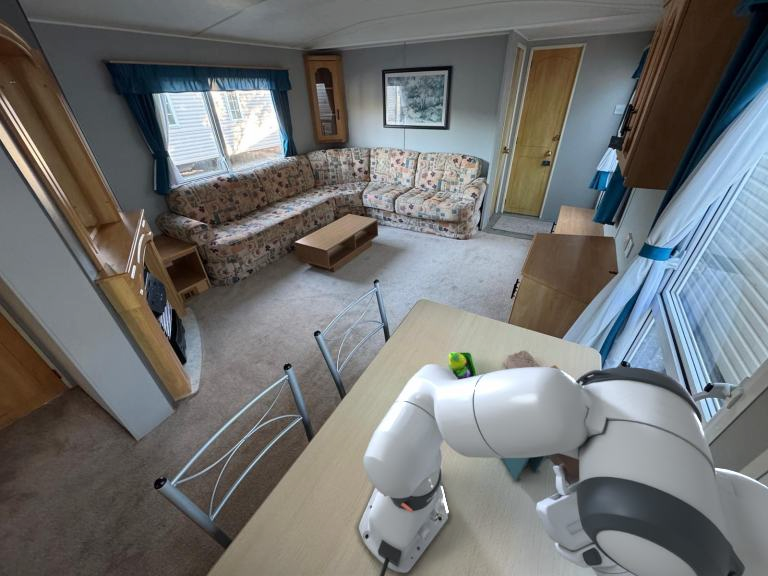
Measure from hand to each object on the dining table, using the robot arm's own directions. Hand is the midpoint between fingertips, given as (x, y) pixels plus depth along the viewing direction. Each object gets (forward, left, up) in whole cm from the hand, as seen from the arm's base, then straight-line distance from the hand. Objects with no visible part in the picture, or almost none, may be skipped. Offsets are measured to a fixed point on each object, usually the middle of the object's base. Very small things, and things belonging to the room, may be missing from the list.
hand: (566, 461), depth 62 cm
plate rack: (+10, +8, -20) cm, 24 cm away
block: (+4, +6, -2) cm, 8 cm away
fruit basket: (+23, +32, -20) cm, 44 cm away
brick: (+35, +12, -20) cm, 42 cm away
